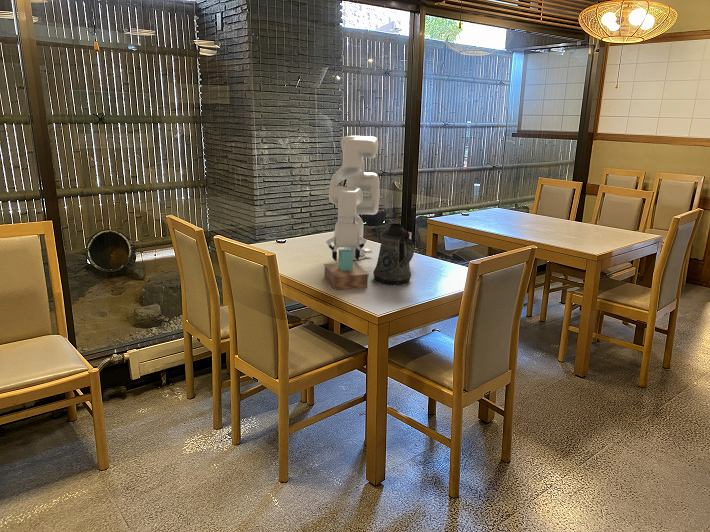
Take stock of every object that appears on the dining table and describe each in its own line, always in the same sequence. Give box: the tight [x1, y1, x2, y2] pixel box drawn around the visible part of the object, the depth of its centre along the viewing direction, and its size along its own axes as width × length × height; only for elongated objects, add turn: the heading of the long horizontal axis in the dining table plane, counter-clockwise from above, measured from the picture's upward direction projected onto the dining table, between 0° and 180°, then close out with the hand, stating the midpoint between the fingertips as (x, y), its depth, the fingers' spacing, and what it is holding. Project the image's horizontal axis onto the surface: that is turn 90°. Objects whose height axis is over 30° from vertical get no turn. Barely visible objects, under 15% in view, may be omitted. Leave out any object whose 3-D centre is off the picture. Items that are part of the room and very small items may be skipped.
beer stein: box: [372, 223, 415, 286], centre depth 230 cm, size 16×19×25 cm
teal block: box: [337, 248, 354, 271], centre depth 226 cm, size 5×5×8 cm
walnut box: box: [323, 261, 370, 290], centre depth 228 cm, size 15×19×6 cm
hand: (346, 259), depth 226 cm, fingers open, 9 cm apart
